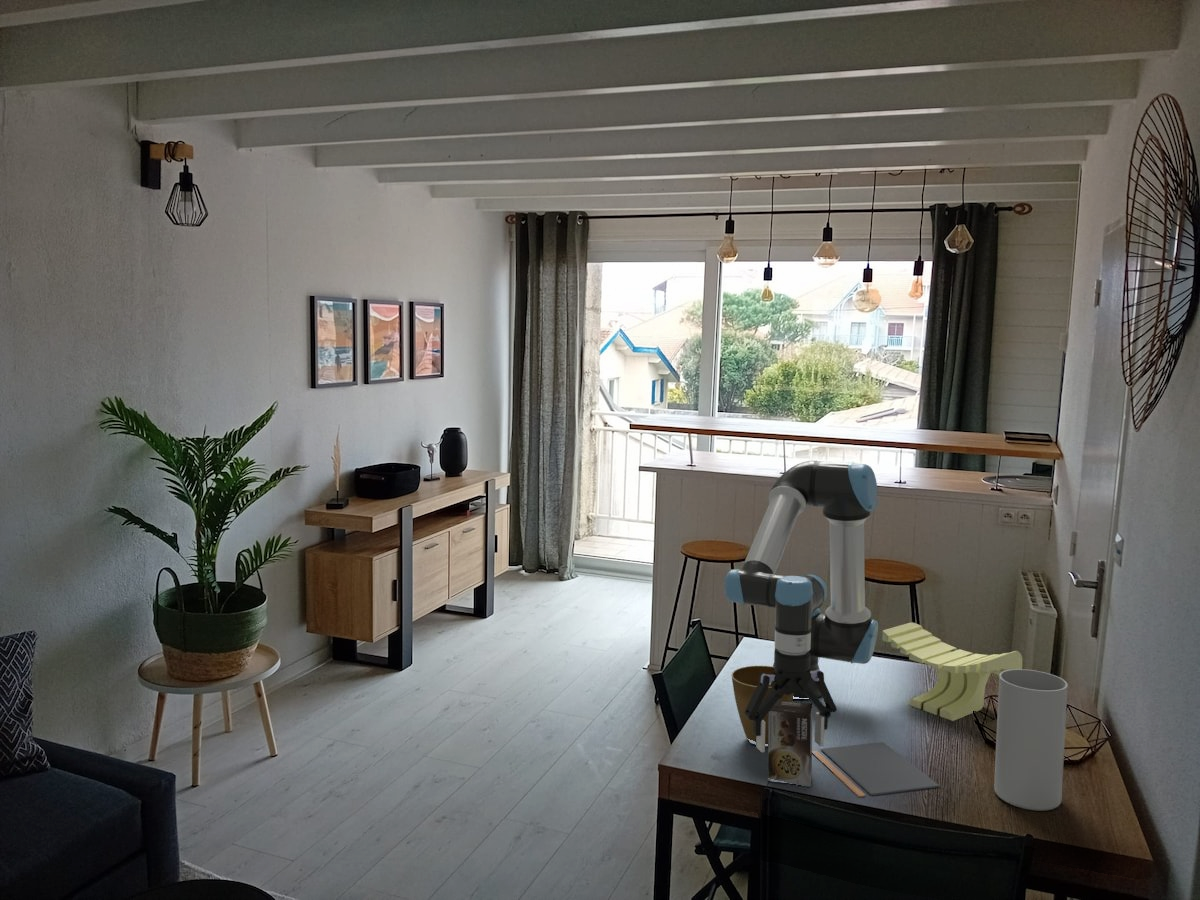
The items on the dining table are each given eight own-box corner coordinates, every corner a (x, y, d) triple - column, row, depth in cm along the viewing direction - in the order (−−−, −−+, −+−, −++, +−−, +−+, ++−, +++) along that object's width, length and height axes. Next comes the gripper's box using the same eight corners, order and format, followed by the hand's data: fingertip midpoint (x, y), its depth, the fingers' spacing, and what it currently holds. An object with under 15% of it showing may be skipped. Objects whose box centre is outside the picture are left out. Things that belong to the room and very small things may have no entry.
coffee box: (812, 774, 193) (813, 702, 191) (810, 788, 187) (812, 714, 185) (769, 769, 196) (771, 698, 194) (766, 782, 189) (768, 709, 188)
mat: (820, 750, 205) (820, 748, 205) (883, 743, 208) (883, 741, 208) (870, 795, 184) (870, 793, 183) (939, 787, 187) (939, 785, 187)
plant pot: (794, 730, 216) (795, 667, 214) (794, 757, 201) (796, 689, 200) (732, 725, 219) (733, 662, 217) (728, 751, 204) (729, 684, 203)
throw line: (809, 751, 204) (809, 750, 204) (815, 750, 205) (815, 749, 204) (858, 797, 183) (858, 795, 183) (865, 796, 183) (865, 794, 183)
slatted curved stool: (1019, 717, 224) (1023, 648, 222) (984, 732, 215) (987, 660, 213) (916, 682, 248) (918, 620, 247) (880, 694, 239) (882, 630, 237)
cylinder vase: (1006, 777, 192) (1012, 664, 189) (1069, 796, 183) (1075, 679, 181) (984, 797, 183) (989, 680, 180) (1049, 819, 174) (1056, 696, 172)
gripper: (744, 659, 182) (742, 759, 184) (854, 651, 188) (851, 748, 189) (730, 648, 189) (728, 744, 191) (837, 641, 195) (834, 734, 197)
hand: (789, 746), depth 190 cm, fingers open, 13 cm apart
